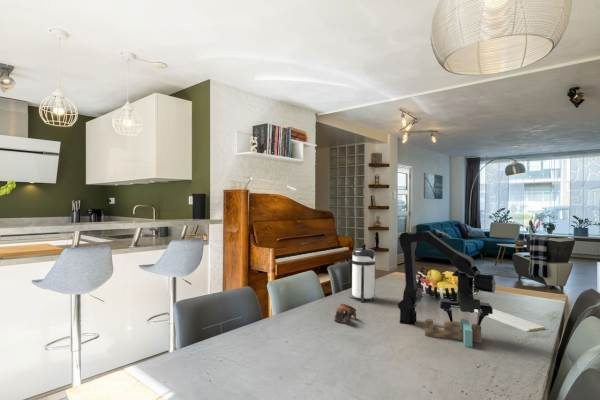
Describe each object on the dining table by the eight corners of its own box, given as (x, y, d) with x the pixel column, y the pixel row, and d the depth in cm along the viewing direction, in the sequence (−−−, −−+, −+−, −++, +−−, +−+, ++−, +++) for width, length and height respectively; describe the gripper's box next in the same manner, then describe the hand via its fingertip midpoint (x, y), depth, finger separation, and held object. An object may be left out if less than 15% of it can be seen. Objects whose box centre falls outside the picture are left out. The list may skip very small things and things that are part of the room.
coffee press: (378, 296, 195) (379, 242, 195) (375, 304, 180) (376, 246, 180) (348, 293, 201) (348, 241, 201) (342, 300, 186) (343, 244, 186)
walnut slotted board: (425, 335, 138) (425, 320, 138) (424, 333, 140) (425, 318, 140) (481, 342, 132) (481, 326, 132) (480, 340, 134) (480, 324, 134)
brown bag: (329, 319, 157) (336, 301, 160) (347, 327, 158) (354, 310, 161) (339, 321, 146) (345, 302, 149) (358, 330, 147) (365, 311, 150)
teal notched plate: (460, 332, 141) (460, 318, 141) (467, 333, 141) (467, 318, 141) (464, 346, 128) (464, 330, 128) (472, 347, 127) (472, 330, 127)
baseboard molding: (523, 333, 143) (544, 330, 147) (524, 326, 143) (545, 323, 147) (465, 310, 173) (484, 308, 177) (465, 304, 173) (484, 303, 177)
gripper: (441, 291, 134) (440, 331, 134) (495, 295, 128) (495, 338, 128) (439, 284, 145) (439, 322, 145) (489, 288, 139) (489, 328, 139)
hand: (464, 327), depth 139 cm, fingers open, 9 cm apart
